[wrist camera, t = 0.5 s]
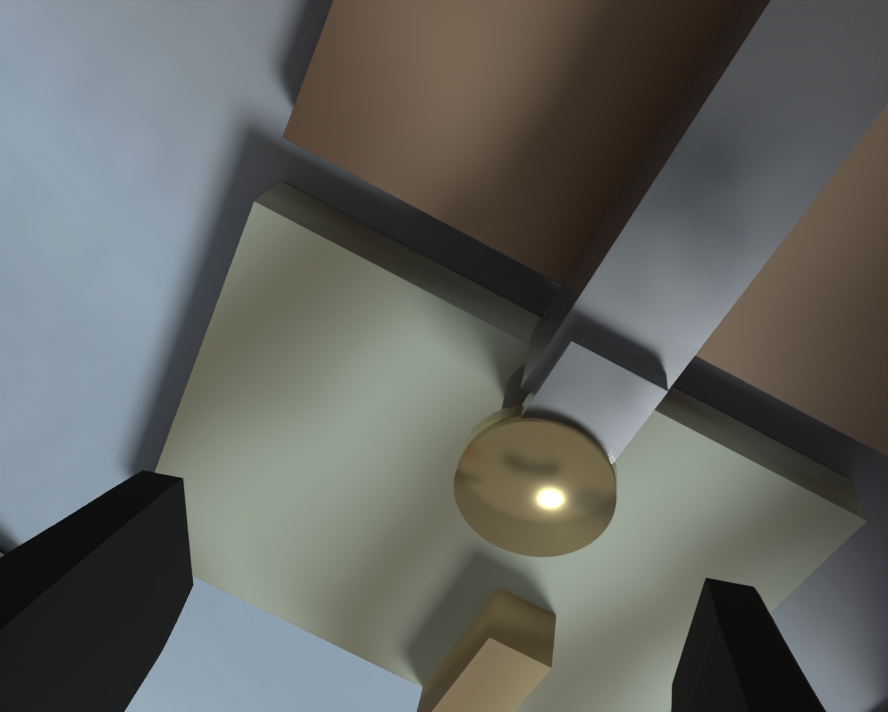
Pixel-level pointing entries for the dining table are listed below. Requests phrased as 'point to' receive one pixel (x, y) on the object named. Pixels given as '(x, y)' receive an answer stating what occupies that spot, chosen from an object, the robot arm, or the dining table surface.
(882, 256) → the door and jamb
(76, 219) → the dining table surface
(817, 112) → the swing bar
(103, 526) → the robot arm
